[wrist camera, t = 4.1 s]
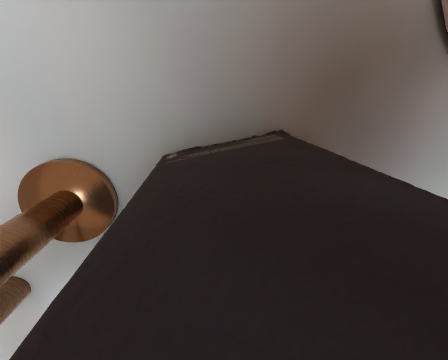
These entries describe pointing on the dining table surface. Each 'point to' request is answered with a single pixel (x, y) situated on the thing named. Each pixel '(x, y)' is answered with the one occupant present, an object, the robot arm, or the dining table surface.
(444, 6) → the robot arm
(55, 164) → the bent rod
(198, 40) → the dining table surface
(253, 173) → the small box
